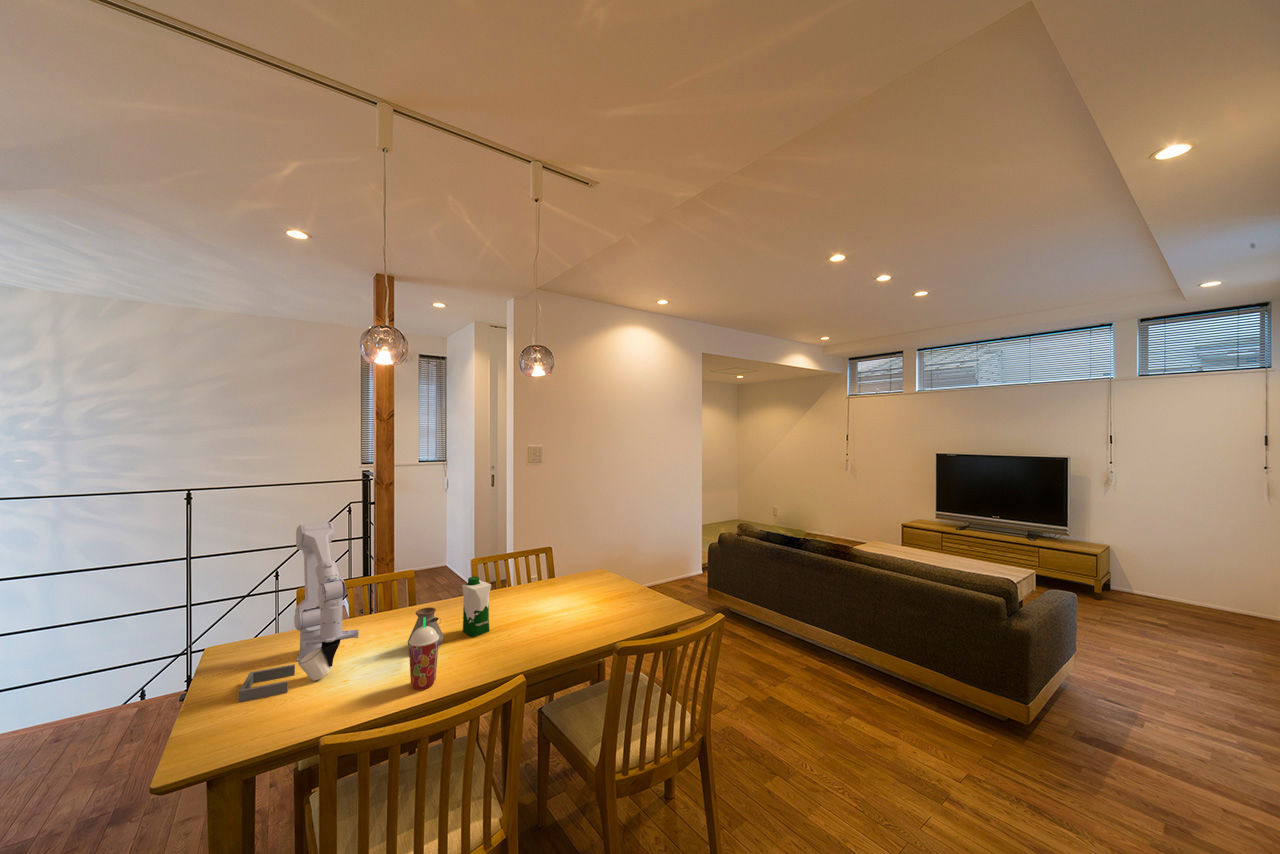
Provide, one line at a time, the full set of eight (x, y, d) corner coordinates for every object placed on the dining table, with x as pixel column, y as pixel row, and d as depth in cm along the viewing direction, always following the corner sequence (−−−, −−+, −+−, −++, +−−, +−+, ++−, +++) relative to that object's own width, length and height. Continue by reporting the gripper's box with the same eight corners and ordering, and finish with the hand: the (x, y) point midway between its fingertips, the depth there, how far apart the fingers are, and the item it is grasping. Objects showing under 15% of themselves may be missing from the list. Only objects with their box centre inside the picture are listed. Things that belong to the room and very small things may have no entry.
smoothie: (442, 677, 145) (444, 612, 145) (431, 692, 136) (433, 623, 137) (415, 677, 145) (416, 612, 145) (402, 692, 136) (403, 623, 136)
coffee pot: (404, 645, 166) (405, 603, 167) (438, 637, 173) (439, 596, 174) (417, 670, 149) (418, 622, 150) (455, 660, 156) (456, 614, 157)
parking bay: (249, 682, 141) (250, 672, 141) (294, 673, 146) (295, 664, 146) (238, 702, 130) (238, 691, 130) (287, 692, 136) (287, 682, 136)
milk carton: (479, 625, 184) (480, 574, 185) (493, 631, 179) (494, 578, 179) (458, 632, 177) (459, 579, 178) (472, 639, 172) (473, 584, 172)
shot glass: (331, 662, 149) (320, 644, 148) (336, 667, 144) (324, 649, 143) (307, 679, 144) (295, 660, 143) (312, 685, 140) (299, 666, 138)
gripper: (300, 629, 139) (299, 676, 138) (357, 620, 146) (357, 665, 145) (304, 621, 145) (303, 666, 144) (359, 613, 152) (358, 655, 151)
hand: (330, 665), depth 145 cm, fingers closed
